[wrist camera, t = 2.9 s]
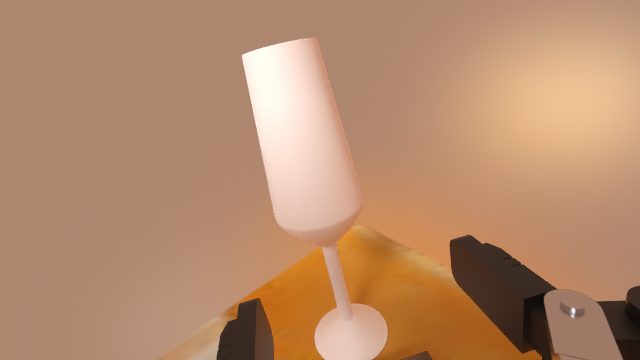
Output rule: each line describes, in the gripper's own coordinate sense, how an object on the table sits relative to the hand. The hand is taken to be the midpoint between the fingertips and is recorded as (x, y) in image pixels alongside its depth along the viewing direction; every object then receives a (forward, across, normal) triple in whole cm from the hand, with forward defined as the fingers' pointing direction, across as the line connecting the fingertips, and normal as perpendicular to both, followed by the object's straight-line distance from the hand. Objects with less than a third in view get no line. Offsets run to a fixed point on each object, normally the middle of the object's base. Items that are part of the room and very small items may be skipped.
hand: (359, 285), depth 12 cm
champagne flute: (+11, 0, +14) cm, 18 cm away
